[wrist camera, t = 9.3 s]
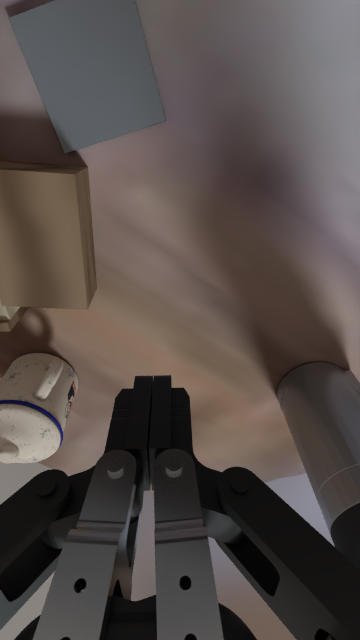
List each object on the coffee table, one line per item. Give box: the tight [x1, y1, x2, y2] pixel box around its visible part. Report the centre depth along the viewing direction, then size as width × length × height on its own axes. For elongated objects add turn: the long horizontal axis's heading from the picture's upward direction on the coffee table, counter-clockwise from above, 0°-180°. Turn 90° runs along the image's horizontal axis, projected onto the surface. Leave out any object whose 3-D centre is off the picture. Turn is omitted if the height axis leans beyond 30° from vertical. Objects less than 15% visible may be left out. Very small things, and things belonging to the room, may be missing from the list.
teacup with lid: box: [0, 353, 78, 463], centre depth 36 cm, size 12×9×12 cm
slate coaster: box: [9, 0, 166, 153], centre depth 26 cm, size 9×9×1 cm
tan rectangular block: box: [0, 161, 97, 310], centre depth 30 cm, size 8×12×5 cm, turn 176°
